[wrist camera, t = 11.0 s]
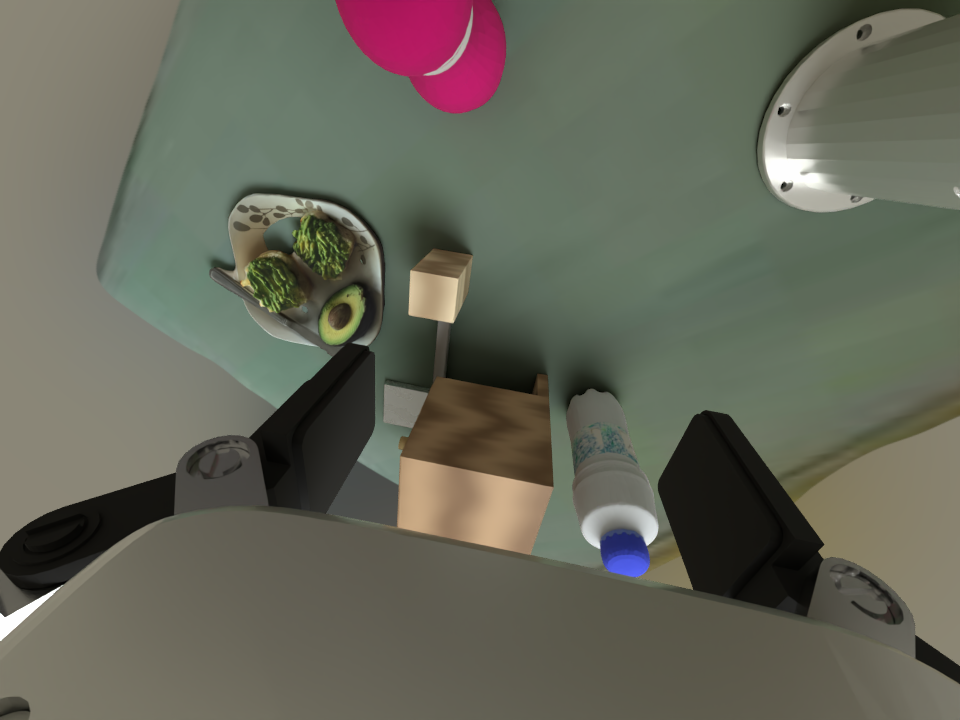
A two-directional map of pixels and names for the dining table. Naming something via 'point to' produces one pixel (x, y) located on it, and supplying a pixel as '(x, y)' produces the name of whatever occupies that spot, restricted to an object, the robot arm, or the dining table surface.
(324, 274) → the salad plate
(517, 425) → the wooden box
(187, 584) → the robot arm
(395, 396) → the gray rectangular block
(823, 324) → the dining table surface
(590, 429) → the bottle
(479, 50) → the pepper mill
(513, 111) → the dining table surface
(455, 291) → the beige mallet
